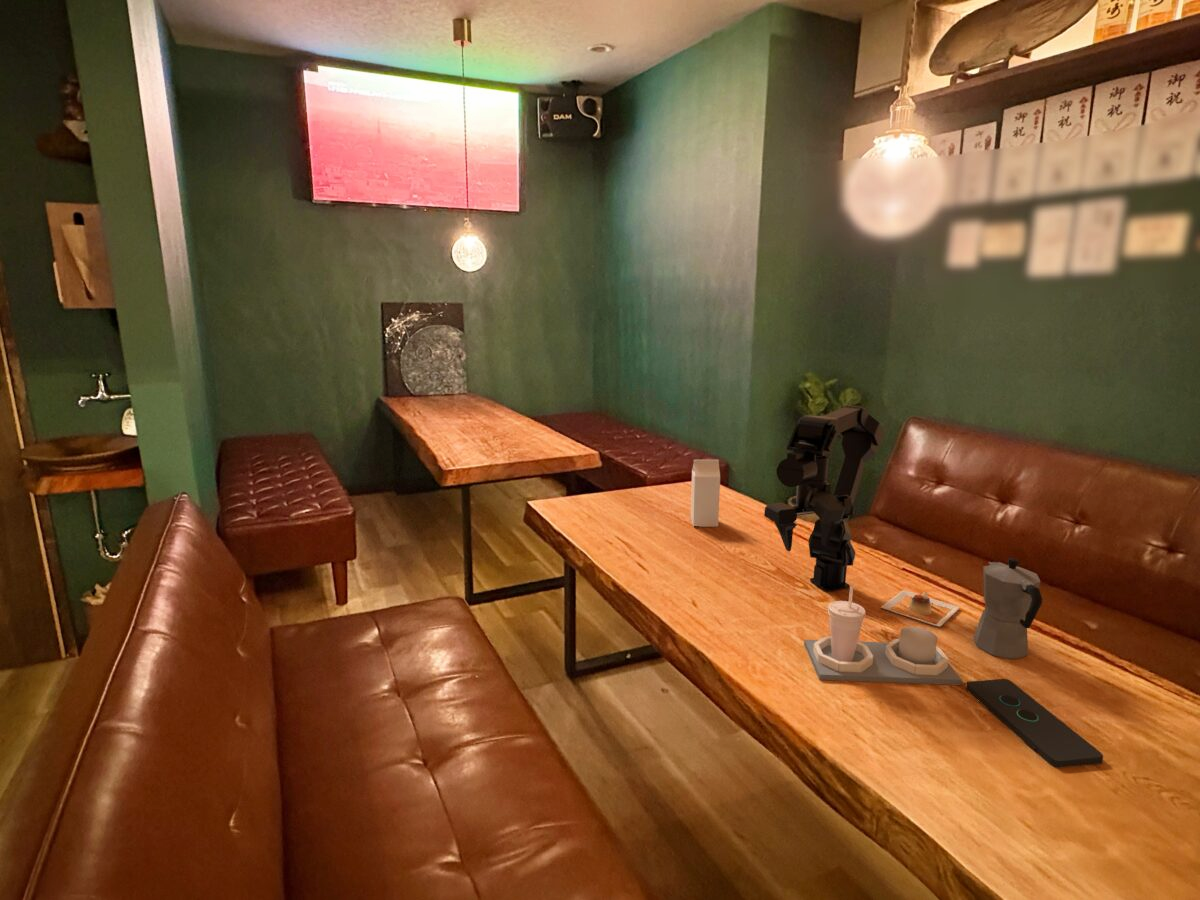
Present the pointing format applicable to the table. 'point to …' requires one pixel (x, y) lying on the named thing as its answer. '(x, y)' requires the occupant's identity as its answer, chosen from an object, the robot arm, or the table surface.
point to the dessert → (920, 606)
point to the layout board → (887, 660)
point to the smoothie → (845, 627)
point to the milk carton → (705, 493)
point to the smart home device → (1034, 724)
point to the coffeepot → (1007, 609)
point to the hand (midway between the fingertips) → (806, 548)
